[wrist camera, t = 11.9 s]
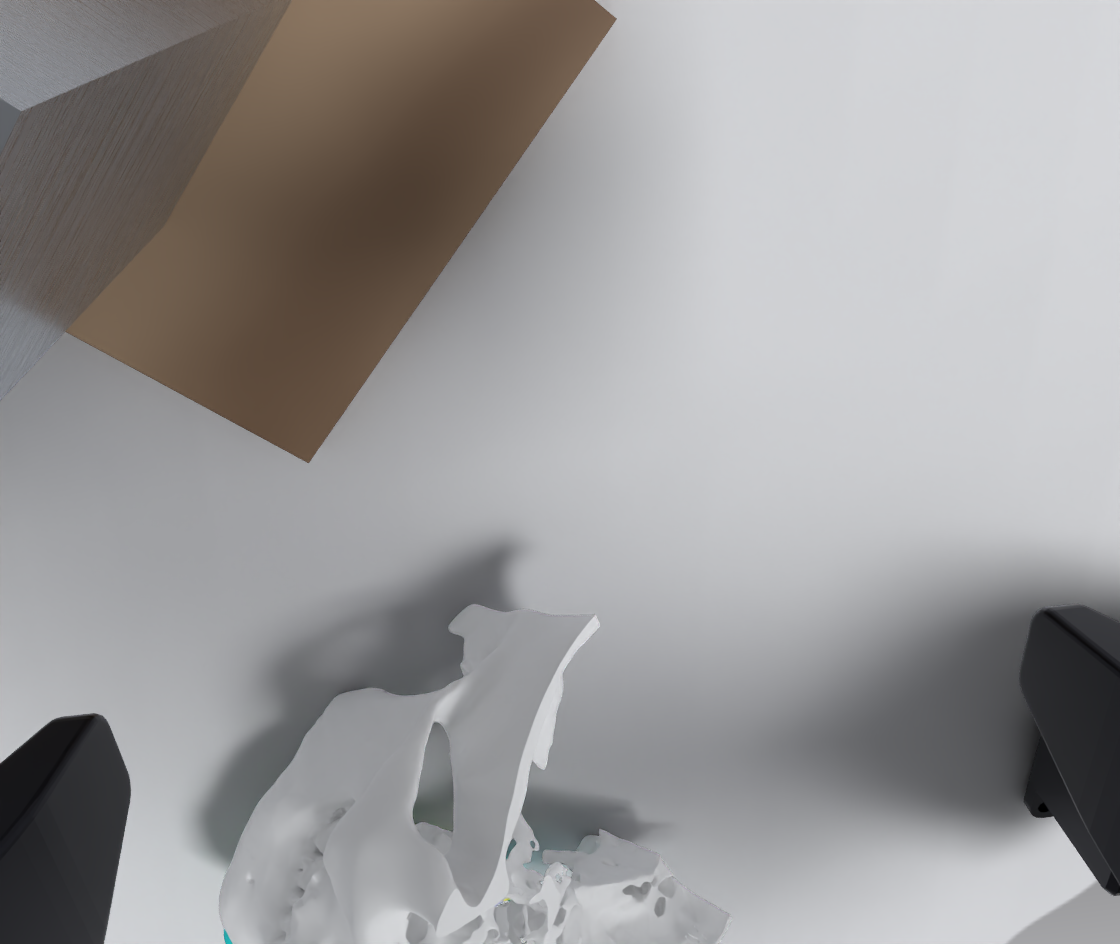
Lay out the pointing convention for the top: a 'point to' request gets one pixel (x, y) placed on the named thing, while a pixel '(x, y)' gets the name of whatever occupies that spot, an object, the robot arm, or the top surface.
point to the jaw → (103, 142)
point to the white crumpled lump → (479, 820)
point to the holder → (336, 201)
